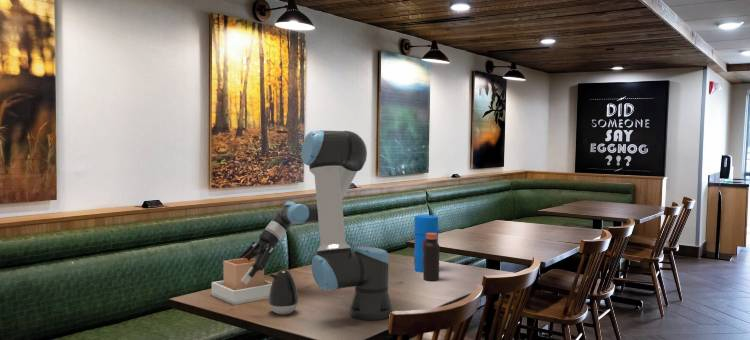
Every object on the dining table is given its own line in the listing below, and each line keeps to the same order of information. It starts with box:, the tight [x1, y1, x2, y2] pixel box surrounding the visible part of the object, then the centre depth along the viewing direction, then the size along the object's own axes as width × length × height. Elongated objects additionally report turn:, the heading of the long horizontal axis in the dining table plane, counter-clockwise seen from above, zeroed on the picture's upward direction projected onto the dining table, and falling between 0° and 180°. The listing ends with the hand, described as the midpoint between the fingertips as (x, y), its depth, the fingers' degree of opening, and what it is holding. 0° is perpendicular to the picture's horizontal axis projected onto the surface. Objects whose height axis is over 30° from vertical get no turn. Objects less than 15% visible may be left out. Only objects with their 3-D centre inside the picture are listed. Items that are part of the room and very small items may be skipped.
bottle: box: [422, 233, 440, 282], centre depth 258 cm, size 7×7×20 cm
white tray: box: [211, 279, 273, 306], centre depth 230 cm, size 18×18×5 cm
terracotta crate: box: [222, 257, 265, 291], centre depth 230 cm, size 10×12×11 cm
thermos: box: [413, 214, 439, 273], centre depth 275 cm, size 11×11×25 cm
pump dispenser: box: [268, 269, 299, 315], centre depth 209 cm, size 10×10×15 cm
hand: (236, 280), depth 228 cm, fingers closed on terracotta crate, 10 cm apart
